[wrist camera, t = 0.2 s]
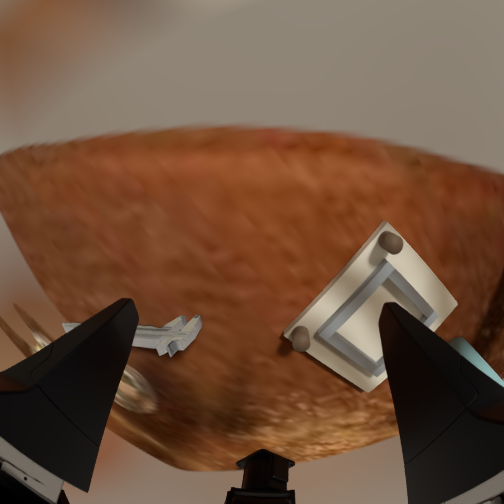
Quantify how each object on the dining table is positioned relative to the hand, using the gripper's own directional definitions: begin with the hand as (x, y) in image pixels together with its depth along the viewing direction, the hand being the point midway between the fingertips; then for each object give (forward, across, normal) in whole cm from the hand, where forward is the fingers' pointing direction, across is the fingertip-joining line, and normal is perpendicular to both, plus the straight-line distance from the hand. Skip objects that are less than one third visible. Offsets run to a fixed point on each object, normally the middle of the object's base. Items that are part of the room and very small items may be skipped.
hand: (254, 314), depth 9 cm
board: (+13, -11, +12) cm, 21 cm away
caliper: (+13, +17, +14) cm, 25 cm away
